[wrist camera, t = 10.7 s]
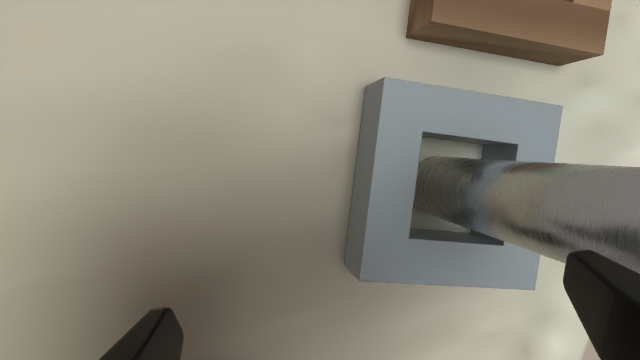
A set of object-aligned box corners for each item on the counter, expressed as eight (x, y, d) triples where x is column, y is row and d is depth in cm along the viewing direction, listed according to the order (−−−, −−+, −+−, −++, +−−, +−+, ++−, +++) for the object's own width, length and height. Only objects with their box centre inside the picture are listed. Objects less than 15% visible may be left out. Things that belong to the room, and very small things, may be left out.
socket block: (499, 272, 25) (534, 290, 22) (344, 263, 23) (359, 281, 20) (523, 110, 24) (562, 105, 21) (365, 86, 22) (384, 77, 19)
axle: (452, 221, 24) (737, 322, 10) (401, 205, 23) (634, 291, 9) (469, 166, 24) (781, 194, 10) (419, 149, 23) (680, 153, 9)
